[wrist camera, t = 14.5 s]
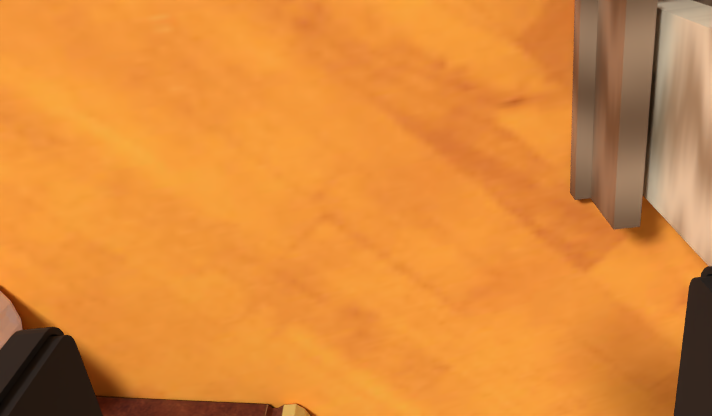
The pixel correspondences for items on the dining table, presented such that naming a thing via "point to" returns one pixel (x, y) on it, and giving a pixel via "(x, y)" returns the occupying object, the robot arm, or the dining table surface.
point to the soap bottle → (8, 319)
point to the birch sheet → (682, 122)
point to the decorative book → (191, 408)
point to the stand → (612, 104)
